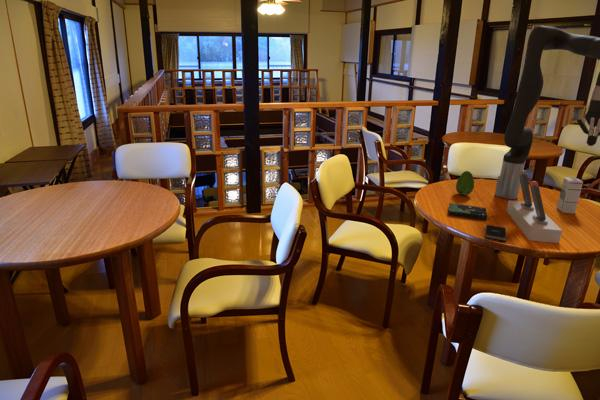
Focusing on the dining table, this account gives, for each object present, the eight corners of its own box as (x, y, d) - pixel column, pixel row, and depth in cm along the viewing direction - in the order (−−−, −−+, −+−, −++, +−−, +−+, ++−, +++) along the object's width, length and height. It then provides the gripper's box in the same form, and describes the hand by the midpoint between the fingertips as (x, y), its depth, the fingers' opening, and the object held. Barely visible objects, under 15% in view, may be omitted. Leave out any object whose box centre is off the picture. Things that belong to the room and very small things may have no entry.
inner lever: (529, 201, 169) (523, 167, 165) (534, 206, 165) (527, 170, 161) (522, 203, 170) (516, 169, 166) (526, 207, 165) (520, 172, 162)
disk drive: (484, 213, 176) (448, 208, 180) (485, 207, 175) (449, 202, 179) (486, 222, 167) (448, 216, 171) (487, 216, 166) (449, 210, 170)
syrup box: (575, 213, 177) (584, 181, 172) (560, 212, 178) (569, 180, 173) (570, 209, 182) (578, 177, 177) (555, 207, 183) (563, 176, 178)
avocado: (464, 198, 192) (468, 173, 188) (451, 193, 198) (455, 169, 194) (475, 196, 196) (480, 172, 192) (462, 191, 202) (466, 167, 198)
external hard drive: (504, 232, 157) (505, 227, 156) (505, 243, 147) (506, 238, 147) (485, 229, 159) (486, 224, 159) (484, 240, 150) (485, 235, 149)
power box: (531, 213, 176) (534, 200, 174) (558, 243, 148) (563, 227, 146) (506, 211, 177) (509, 198, 175) (529, 240, 150) (532, 225, 148)
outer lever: (543, 214, 155) (534, 178, 152) (548, 219, 151) (539, 182, 147) (535, 216, 156) (526, 180, 152) (539, 221, 152) (531, 184, 148)
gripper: (579, 97, 152) (568, 143, 158) (623, 101, 143) (609, 150, 149) (584, 96, 157) (573, 141, 163) (627, 100, 148) (613, 147, 154)
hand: (590, 145), depth 156 cm, fingers closed
